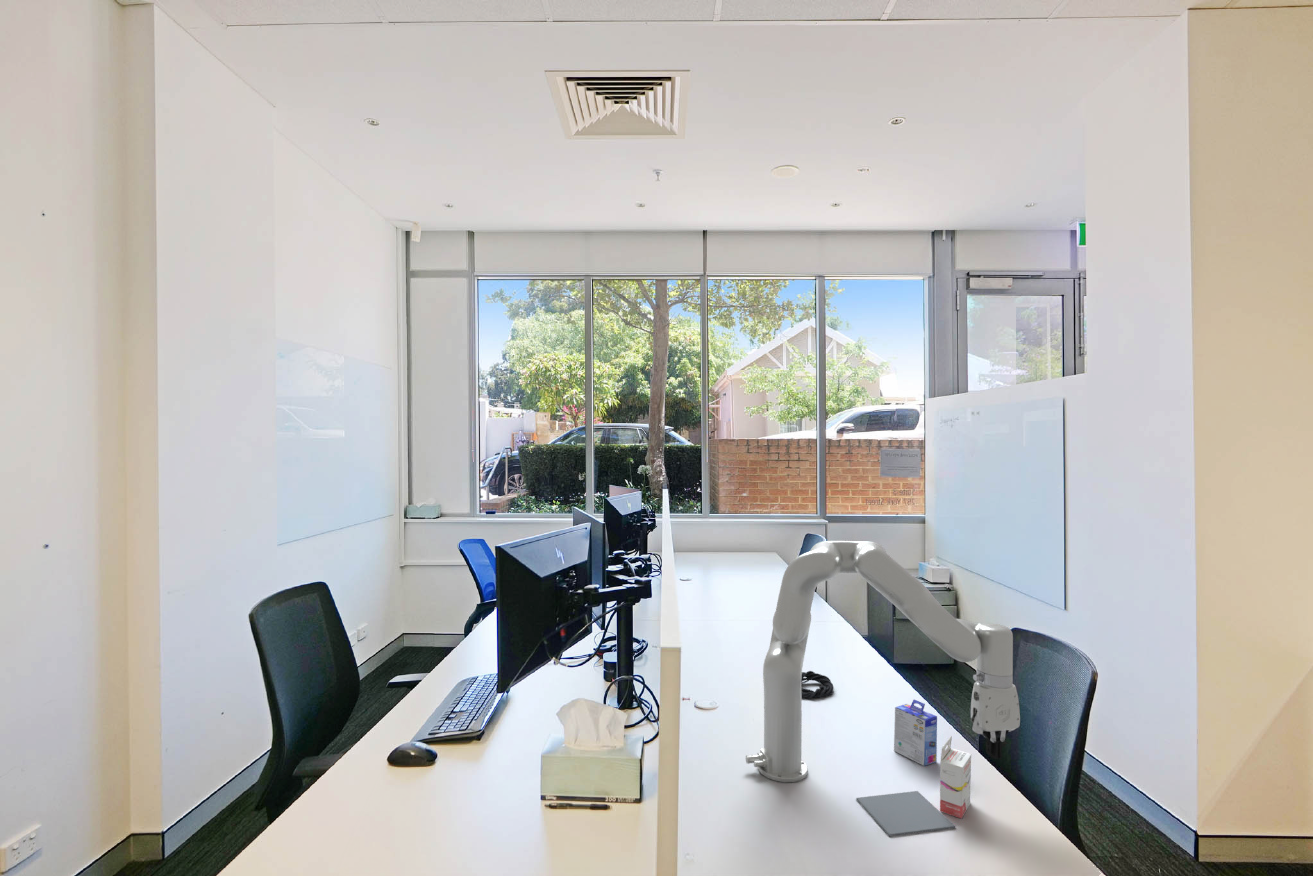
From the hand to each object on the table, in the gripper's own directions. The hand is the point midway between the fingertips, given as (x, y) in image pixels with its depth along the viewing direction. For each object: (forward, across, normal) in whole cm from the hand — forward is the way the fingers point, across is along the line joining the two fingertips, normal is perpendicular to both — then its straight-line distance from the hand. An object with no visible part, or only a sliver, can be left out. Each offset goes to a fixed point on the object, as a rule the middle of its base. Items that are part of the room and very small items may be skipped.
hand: (993, 756), depth 149 cm
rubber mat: (+11, -23, 0) cm, 26 cm away
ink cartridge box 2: (+11, -10, 0) cm, 15 cm away
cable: (+12, -13, +70) cm, 72 cm away
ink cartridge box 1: (+11, -5, +23) cm, 26 cm away
